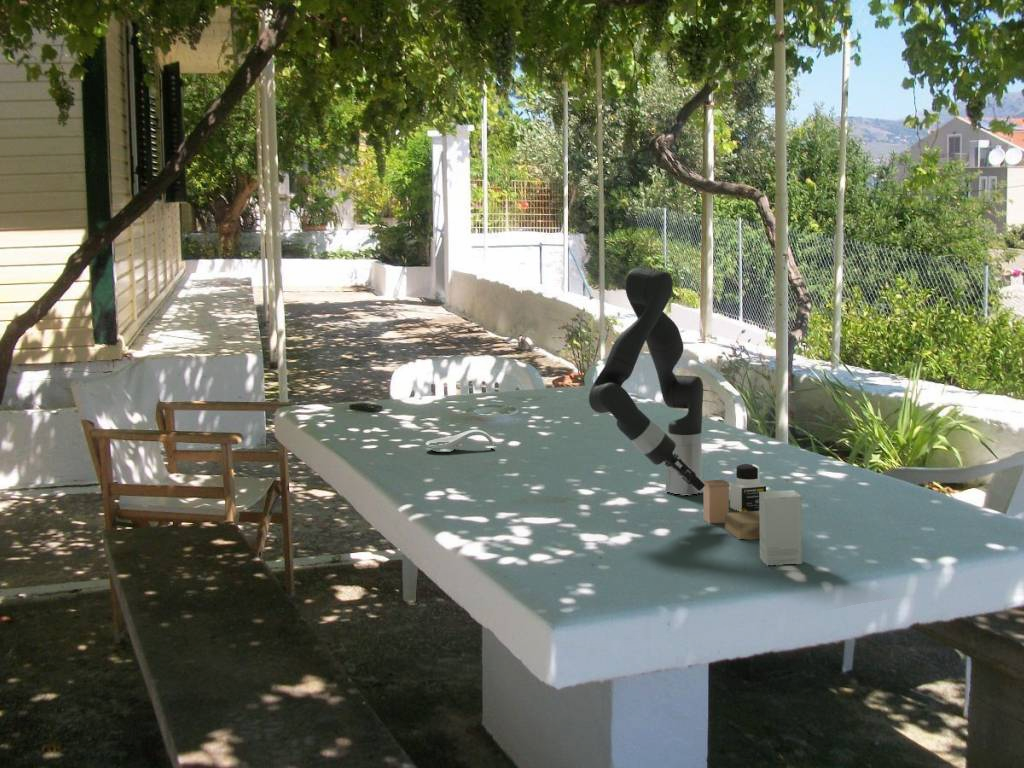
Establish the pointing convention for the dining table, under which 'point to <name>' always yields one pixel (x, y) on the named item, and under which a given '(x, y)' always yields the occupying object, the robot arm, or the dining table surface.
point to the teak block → (743, 524)
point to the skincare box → (780, 527)
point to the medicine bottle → (746, 488)
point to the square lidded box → (716, 500)
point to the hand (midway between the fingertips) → (696, 484)
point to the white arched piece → (458, 439)
